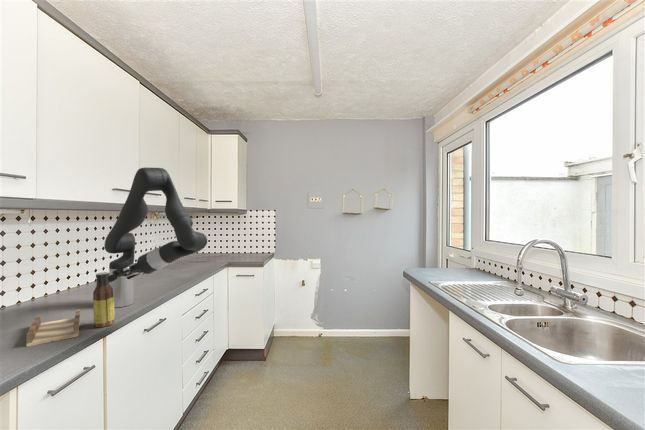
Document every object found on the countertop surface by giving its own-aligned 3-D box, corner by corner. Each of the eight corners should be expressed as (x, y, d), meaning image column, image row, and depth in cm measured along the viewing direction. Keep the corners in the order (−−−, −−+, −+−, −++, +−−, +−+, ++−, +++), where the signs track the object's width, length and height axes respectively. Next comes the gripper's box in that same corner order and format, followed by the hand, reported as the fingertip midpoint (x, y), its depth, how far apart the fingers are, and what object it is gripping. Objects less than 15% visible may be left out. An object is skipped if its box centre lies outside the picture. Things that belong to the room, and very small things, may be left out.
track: (36, 326, 106) (36, 316, 106) (80, 319, 114) (80, 309, 114) (26, 346, 90) (26, 334, 90) (78, 336, 98) (78, 324, 98)
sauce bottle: (111, 320, 113) (112, 270, 112) (116, 324, 109) (117, 272, 108) (91, 325, 107) (91, 273, 107) (95, 329, 103) (95, 275, 103)
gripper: (164, 250, 114) (129, 267, 115) (137, 251, 100) (98, 271, 101) (171, 267, 113) (135, 285, 114) (144, 270, 99) (105, 290, 100)
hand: (118, 278), depth 107 cm, fingers open, 8 cm apart
